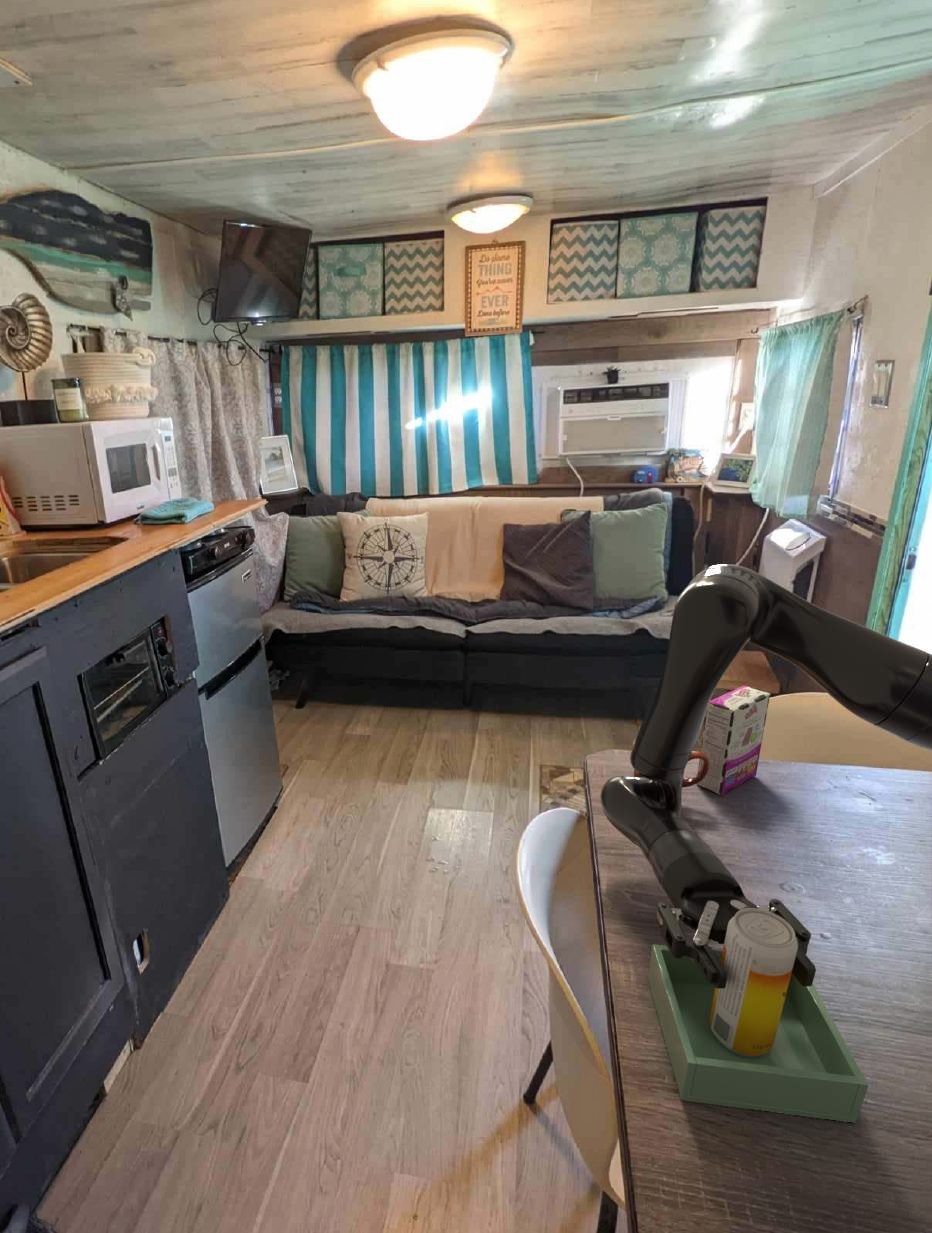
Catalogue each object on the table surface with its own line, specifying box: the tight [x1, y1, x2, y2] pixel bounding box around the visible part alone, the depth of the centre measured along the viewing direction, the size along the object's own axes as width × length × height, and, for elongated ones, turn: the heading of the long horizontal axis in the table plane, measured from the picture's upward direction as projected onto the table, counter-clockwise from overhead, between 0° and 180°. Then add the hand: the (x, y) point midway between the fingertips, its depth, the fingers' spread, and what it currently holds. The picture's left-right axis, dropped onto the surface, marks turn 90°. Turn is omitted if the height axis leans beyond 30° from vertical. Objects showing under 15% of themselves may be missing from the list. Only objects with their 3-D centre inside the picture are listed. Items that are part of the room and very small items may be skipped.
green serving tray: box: [647, 944, 869, 1124], centre depth 73 cm, size 16×16×5 cm
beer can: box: [709, 908, 798, 1057], centre depth 71 cm, size 6×6×15 cm
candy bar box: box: [696, 685, 771, 796], centre depth 119 cm, size 11×5×16 cm, turn 122°
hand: (766, 981), depth 68 cm, fingers open, 8 cm apart
